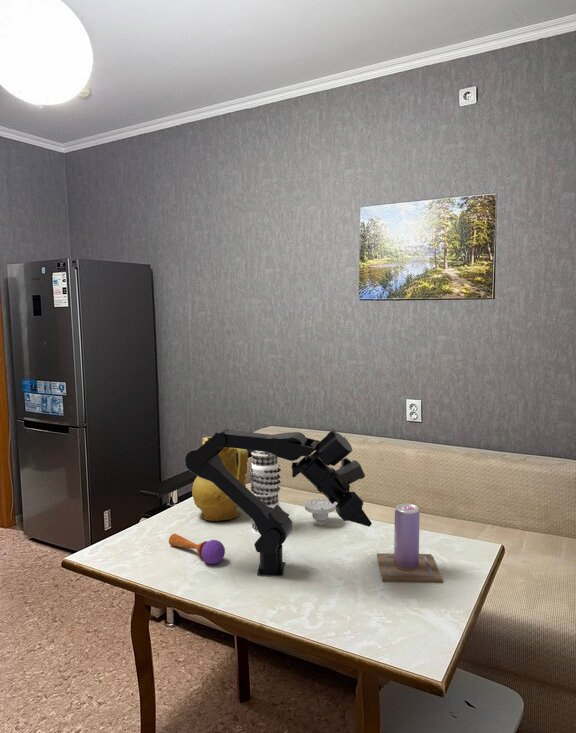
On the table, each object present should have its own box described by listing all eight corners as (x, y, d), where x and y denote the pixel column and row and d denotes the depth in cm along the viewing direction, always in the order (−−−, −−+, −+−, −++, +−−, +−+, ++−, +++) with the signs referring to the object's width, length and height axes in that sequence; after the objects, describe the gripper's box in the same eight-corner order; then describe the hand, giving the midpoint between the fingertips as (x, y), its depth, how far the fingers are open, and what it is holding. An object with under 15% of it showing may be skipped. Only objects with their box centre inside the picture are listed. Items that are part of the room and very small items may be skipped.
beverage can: (420, 572, 130) (421, 512, 128) (395, 571, 130) (395, 512, 129) (416, 560, 136) (417, 503, 134) (393, 559, 136) (393, 502, 134)
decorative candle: (284, 524, 162) (282, 444, 160) (279, 537, 153) (277, 451, 151) (254, 523, 164) (252, 443, 161) (248, 535, 155) (245, 451, 152)
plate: (442, 582, 125) (442, 580, 125) (382, 581, 126) (382, 578, 126) (431, 556, 139) (431, 553, 139) (377, 555, 140) (377, 552, 140)
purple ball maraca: (183, 527, 152) (230, 540, 139) (181, 549, 151) (228, 564, 138) (165, 530, 148) (212, 543, 134) (163, 552, 147) (211, 568, 134)
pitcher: (237, 502, 182) (235, 430, 180) (255, 521, 165) (253, 442, 163) (187, 510, 176) (184, 435, 174) (200, 531, 159) (198, 448, 156)
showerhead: (305, 507, 157) (303, 496, 166) (306, 531, 157) (304, 518, 167) (337, 506, 157) (333, 495, 167) (338, 530, 157) (334, 517, 167)
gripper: (354, 462, 119) (401, 507, 122) (335, 442, 138) (376, 482, 140) (319, 498, 119) (367, 543, 122) (305, 473, 138) (346, 512, 140)
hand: (365, 517), depth 131 cm, fingers open, 9 cm apart
